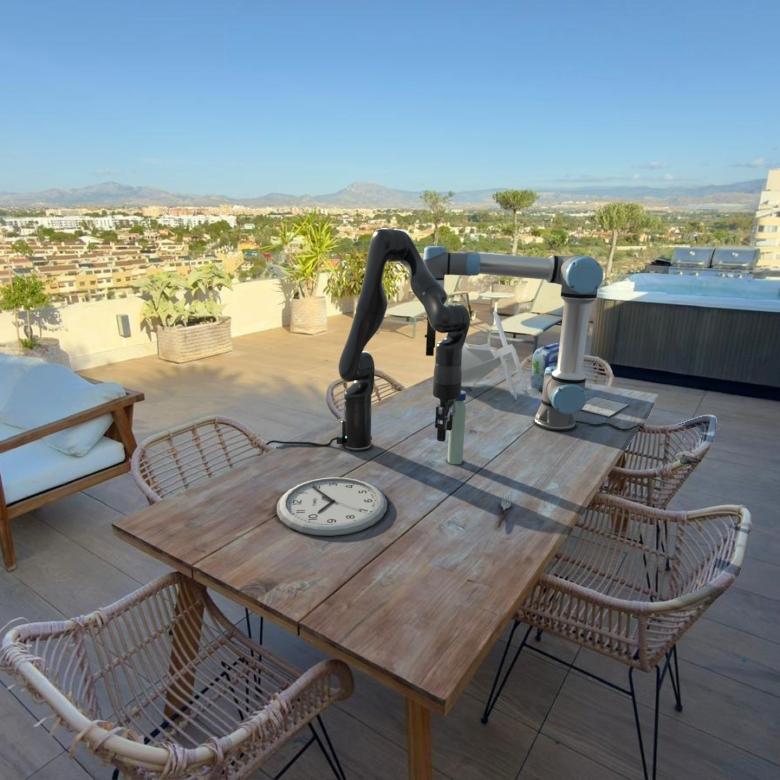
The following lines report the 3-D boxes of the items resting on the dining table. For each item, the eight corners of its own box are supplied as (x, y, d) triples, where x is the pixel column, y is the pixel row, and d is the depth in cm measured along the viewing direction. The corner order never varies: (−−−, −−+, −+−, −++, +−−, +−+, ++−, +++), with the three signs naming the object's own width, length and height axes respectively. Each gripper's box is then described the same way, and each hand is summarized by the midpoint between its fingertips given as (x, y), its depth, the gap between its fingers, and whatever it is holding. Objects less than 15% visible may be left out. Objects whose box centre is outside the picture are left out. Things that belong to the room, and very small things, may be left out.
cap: (461, 402, 162) (462, 394, 161) (449, 399, 164) (449, 392, 163) (467, 398, 165) (468, 391, 165) (455, 396, 168) (456, 389, 167)
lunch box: (546, 395, 240) (551, 350, 234) (526, 389, 248) (530, 346, 241) (573, 384, 258) (578, 342, 252) (553, 379, 265) (558, 339, 259)
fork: (493, 528, 133) (493, 521, 132) (502, 499, 147) (503, 492, 147) (503, 530, 132) (504, 523, 131) (511, 500, 146) (512, 494, 146)
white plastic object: (461, 429, 252) (437, 405, 227) (444, 352, 274) (420, 323, 250) (535, 404, 240) (518, 377, 215) (510, 326, 262) (492, 293, 237)
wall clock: (392, 527, 129) (268, 531, 127) (391, 533, 130) (269, 537, 127) (383, 473, 158) (282, 475, 155) (383, 478, 158) (282, 480, 156)
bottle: (458, 465, 168) (462, 396, 161) (444, 462, 170) (448, 393, 163) (464, 460, 172) (469, 392, 165) (451, 456, 174) (455, 390, 167)
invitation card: (608, 416, 214) (573, 407, 224) (608, 416, 214) (573, 408, 224) (628, 404, 229) (594, 396, 238) (628, 405, 229) (594, 397, 238)
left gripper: (440, 371, 148) (437, 425, 153) (427, 385, 135) (424, 442, 140) (466, 374, 146) (463, 428, 151) (455, 388, 133) (452, 446, 138)
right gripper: (424, 287, 195) (422, 343, 201) (420, 296, 171) (417, 359, 177) (444, 288, 194) (441, 344, 200) (443, 296, 170) (440, 360, 177)
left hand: (444, 435), depth 146 cm, fingers open, 8 cm apart
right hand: (430, 351), depth 189 cm, fingers open, 13 cm apart
